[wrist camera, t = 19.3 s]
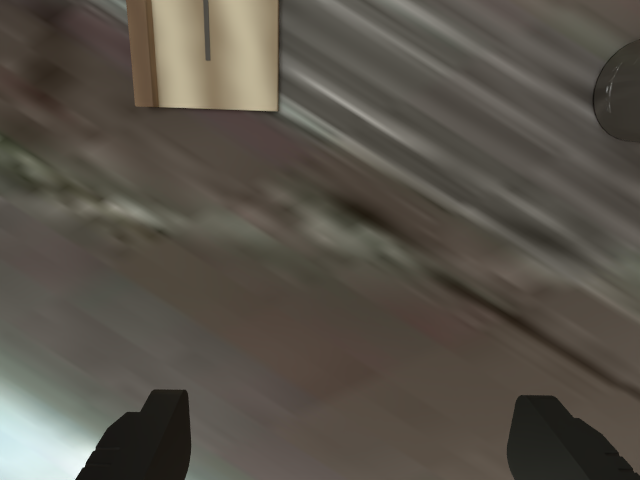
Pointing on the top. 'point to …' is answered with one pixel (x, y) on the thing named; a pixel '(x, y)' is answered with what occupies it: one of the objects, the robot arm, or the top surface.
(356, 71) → the top surface
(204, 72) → the board
